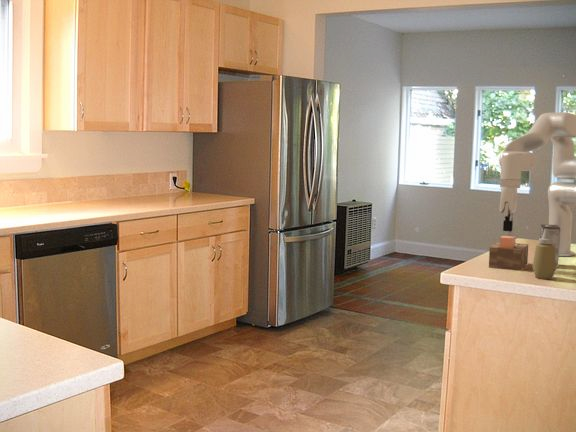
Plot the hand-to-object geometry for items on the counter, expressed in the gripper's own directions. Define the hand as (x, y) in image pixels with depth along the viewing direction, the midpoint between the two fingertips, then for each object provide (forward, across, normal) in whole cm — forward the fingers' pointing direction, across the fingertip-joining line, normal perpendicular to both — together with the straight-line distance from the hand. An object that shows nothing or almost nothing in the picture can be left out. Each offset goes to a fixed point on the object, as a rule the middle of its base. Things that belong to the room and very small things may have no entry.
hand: (507, 230), depth 281 cm
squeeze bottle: (+15, +14, +16) cm, 26 cm away
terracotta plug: (+8, -1, 0) cm, 8 cm away
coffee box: (+14, -13, +14) cm, 24 cm away
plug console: (+14, -5, 0) cm, 15 cm away
